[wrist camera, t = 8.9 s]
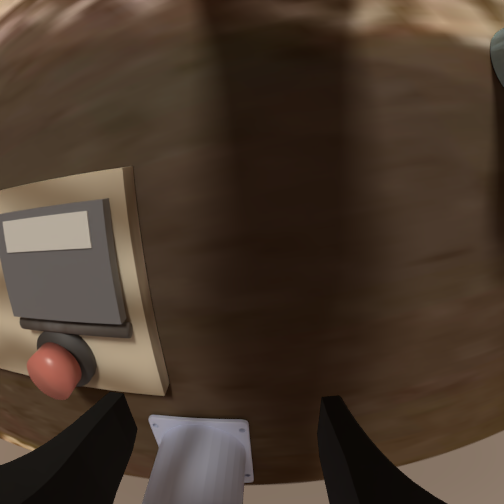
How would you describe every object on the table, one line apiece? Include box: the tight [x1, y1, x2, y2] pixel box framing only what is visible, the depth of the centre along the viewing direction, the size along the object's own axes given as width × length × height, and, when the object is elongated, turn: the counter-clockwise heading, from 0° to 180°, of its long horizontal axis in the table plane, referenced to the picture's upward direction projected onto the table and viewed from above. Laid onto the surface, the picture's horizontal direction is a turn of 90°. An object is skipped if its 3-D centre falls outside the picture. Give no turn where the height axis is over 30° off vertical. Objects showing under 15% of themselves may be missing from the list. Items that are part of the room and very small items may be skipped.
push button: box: [27, 342, 82, 400], centre depth 18 cm, size 4×4×2 cm
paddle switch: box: [0, 198, 127, 324], centre depth 17 cm, size 7×9×1 cm
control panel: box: [0, 166, 170, 396], centre depth 19 cm, size 15×20×2 cm
